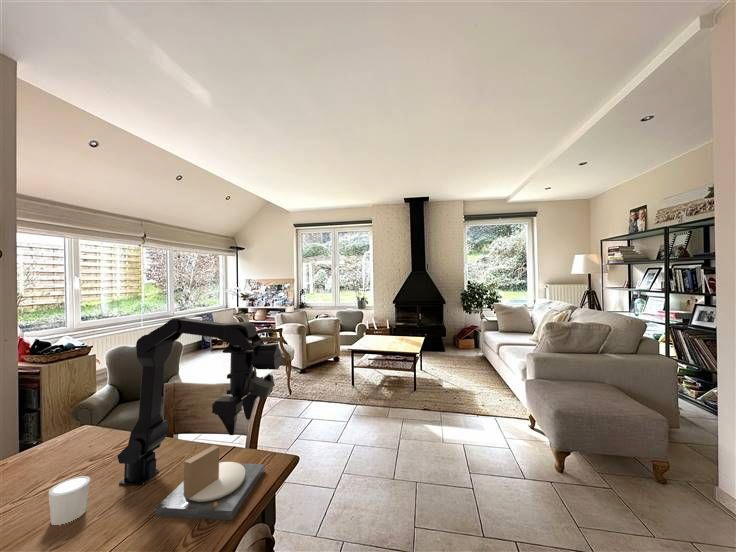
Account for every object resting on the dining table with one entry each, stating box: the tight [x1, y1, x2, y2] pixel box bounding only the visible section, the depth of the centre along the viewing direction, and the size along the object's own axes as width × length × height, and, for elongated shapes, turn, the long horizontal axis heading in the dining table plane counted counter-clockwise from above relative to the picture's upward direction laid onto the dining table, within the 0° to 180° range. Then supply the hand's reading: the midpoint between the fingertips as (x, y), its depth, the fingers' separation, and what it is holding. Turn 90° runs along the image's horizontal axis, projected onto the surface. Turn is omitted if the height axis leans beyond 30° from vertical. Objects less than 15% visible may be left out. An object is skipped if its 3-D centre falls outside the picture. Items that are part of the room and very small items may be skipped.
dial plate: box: [154, 462, 265, 521], centre depth 77 cm, size 18×18×2 cm
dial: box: [183, 444, 245, 502], centre depth 77 cm, size 15×14×9 cm
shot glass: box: [48, 475, 91, 526], centre depth 69 cm, size 7×7×7 cm
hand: (240, 426), depth 81 cm, fingers open, 9 cm apart
